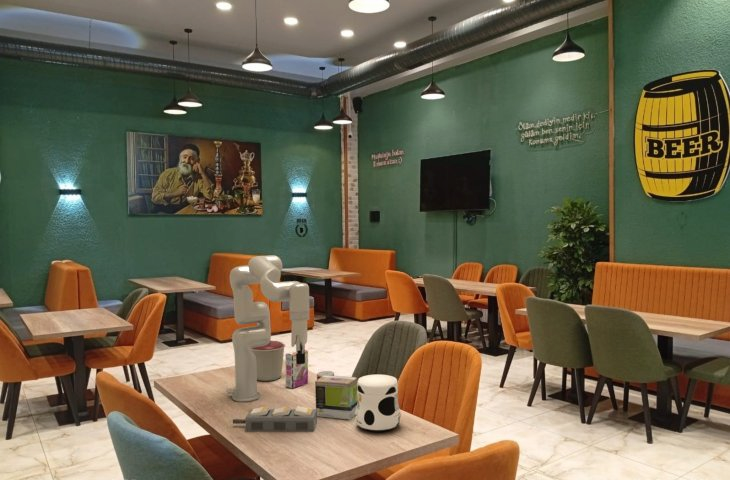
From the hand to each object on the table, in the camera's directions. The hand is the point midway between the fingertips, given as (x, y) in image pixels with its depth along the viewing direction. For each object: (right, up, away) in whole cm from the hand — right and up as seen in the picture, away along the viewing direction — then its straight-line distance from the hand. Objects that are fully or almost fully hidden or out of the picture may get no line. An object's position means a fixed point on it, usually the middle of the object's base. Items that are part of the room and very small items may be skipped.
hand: (300, 363), depth 206 cm
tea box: (+13, -24, +14) cm, 31 cm away
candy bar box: (-8, -23, +54) cm, 59 cm away
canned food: (+7, -24, +35) cm, 43 cm away
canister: (-25, -23, +67) cm, 75 cm away
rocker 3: (+1, -19, +1) cm, 19 cm away
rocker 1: (-16, -19, +2) cm, 25 cm away
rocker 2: (-7, -19, +1) cm, 20 cm away
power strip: (-10, -25, +1) cm, 27 cm away
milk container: (+30, -25, 0) cm, 38 cm away
